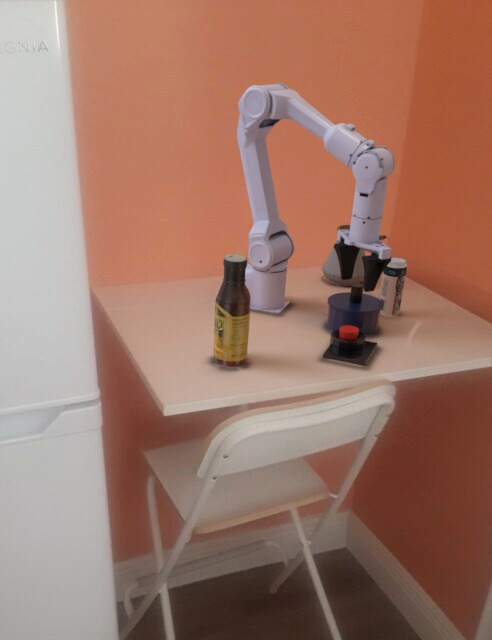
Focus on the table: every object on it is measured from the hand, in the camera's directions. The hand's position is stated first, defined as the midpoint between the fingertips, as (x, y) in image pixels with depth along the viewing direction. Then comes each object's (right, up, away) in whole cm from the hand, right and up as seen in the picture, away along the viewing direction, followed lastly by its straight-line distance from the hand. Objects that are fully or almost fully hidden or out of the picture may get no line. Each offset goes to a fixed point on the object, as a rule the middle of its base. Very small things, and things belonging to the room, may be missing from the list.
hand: (357, 284), depth 140 cm
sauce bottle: (-26, -17, -11) cm, 33 cm away
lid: (0, -3, +2) cm, 4 cm away
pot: (0, -8, +5) cm, 9 cm away
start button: (-3, -11, -6) cm, 13 cm away
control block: (-3, -15, -7) cm, 16 cm away
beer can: (+9, -4, +13) cm, 16 cm away
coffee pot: (+5, +5, +27) cm, 28 cm away
